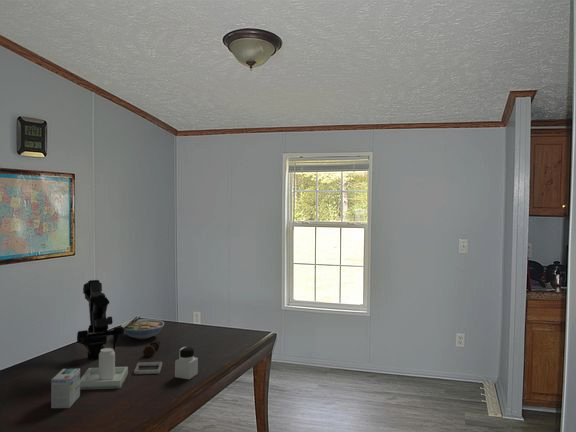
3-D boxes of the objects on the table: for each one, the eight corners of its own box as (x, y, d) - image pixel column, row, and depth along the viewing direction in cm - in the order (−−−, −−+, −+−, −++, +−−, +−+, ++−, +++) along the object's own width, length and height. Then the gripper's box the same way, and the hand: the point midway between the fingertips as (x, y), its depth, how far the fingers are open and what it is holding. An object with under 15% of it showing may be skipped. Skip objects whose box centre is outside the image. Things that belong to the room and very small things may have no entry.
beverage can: (95, 379, 190) (95, 350, 190) (106, 374, 196) (106, 346, 196) (107, 382, 188) (107, 352, 188) (118, 377, 194) (118, 348, 194)
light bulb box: (62, 396, 177) (62, 368, 176) (80, 396, 177) (80, 367, 177) (50, 408, 166) (50, 378, 166) (70, 408, 167) (70, 378, 166)
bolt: (158, 350, 238) (150, 359, 223) (149, 345, 238) (141, 354, 223) (164, 341, 238) (156, 349, 223) (155, 336, 238) (147, 344, 223)
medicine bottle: (197, 374, 202) (198, 346, 202) (189, 379, 195) (189, 351, 195) (183, 371, 204) (183, 344, 204) (174, 377, 197) (174, 349, 197)
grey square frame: (133, 374, 200) (133, 370, 200) (138, 365, 210) (138, 362, 210) (159, 373, 202) (159, 370, 202) (162, 365, 212) (162, 361, 212)
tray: (77, 389, 183) (77, 382, 183) (88, 374, 198) (88, 367, 198) (120, 388, 185) (120, 380, 185) (127, 373, 201) (128, 366, 201)
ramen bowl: (157, 345, 241) (157, 329, 241) (113, 344, 242) (113, 328, 241) (169, 331, 266) (170, 317, 266) (130, 330, 267) (130, 316, 266)
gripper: (77, 312, 197) (79, 345, 188) (123, 308, 206) (127, 340, 196) (76, 326, 204) (77, 358, 195) (120, 321, 213) (124, 352, 204)
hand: (102, 352), depth 197 cm, fingers open, 9 cm apart
